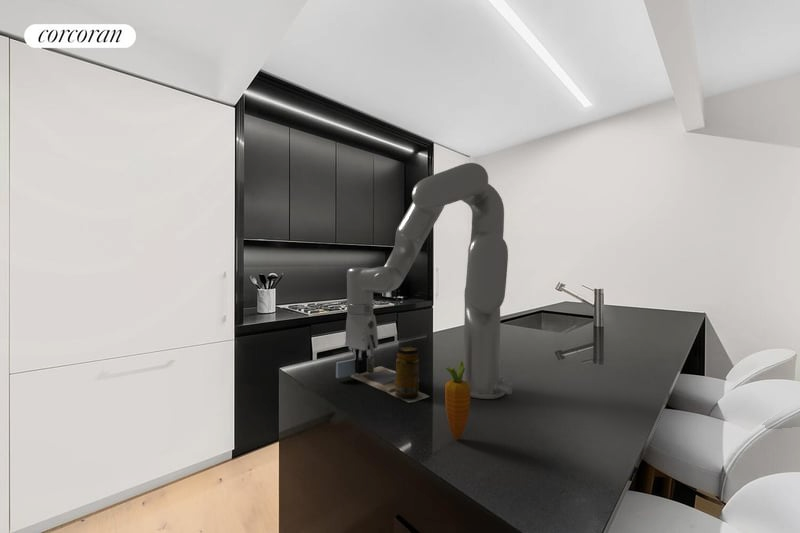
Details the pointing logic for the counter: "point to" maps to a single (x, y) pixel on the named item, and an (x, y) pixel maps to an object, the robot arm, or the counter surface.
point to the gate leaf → (346, 368)
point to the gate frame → (378, 376)
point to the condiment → (407, 375)
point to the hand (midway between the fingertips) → (361, 372)
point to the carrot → (457, 401)
